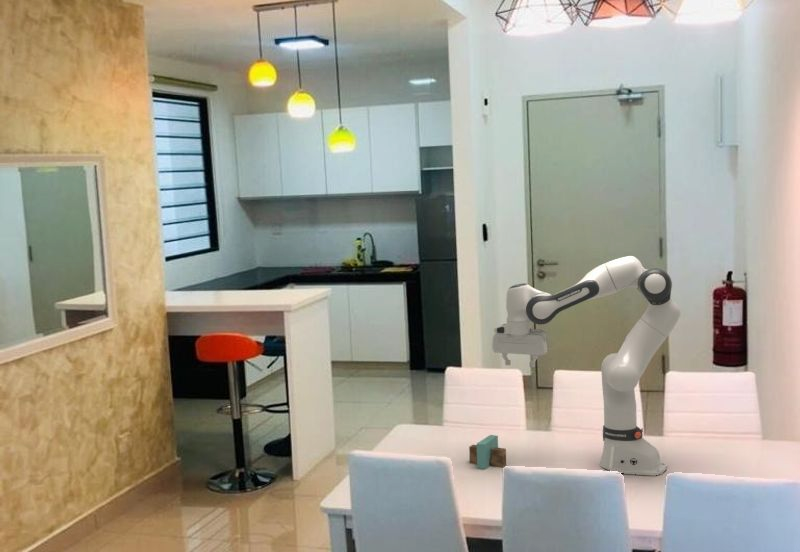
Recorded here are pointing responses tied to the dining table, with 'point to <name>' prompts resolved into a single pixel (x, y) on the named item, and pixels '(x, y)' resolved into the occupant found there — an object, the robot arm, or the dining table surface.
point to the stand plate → (497, 456)
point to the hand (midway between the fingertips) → (520, 365)
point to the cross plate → (486, 451)
